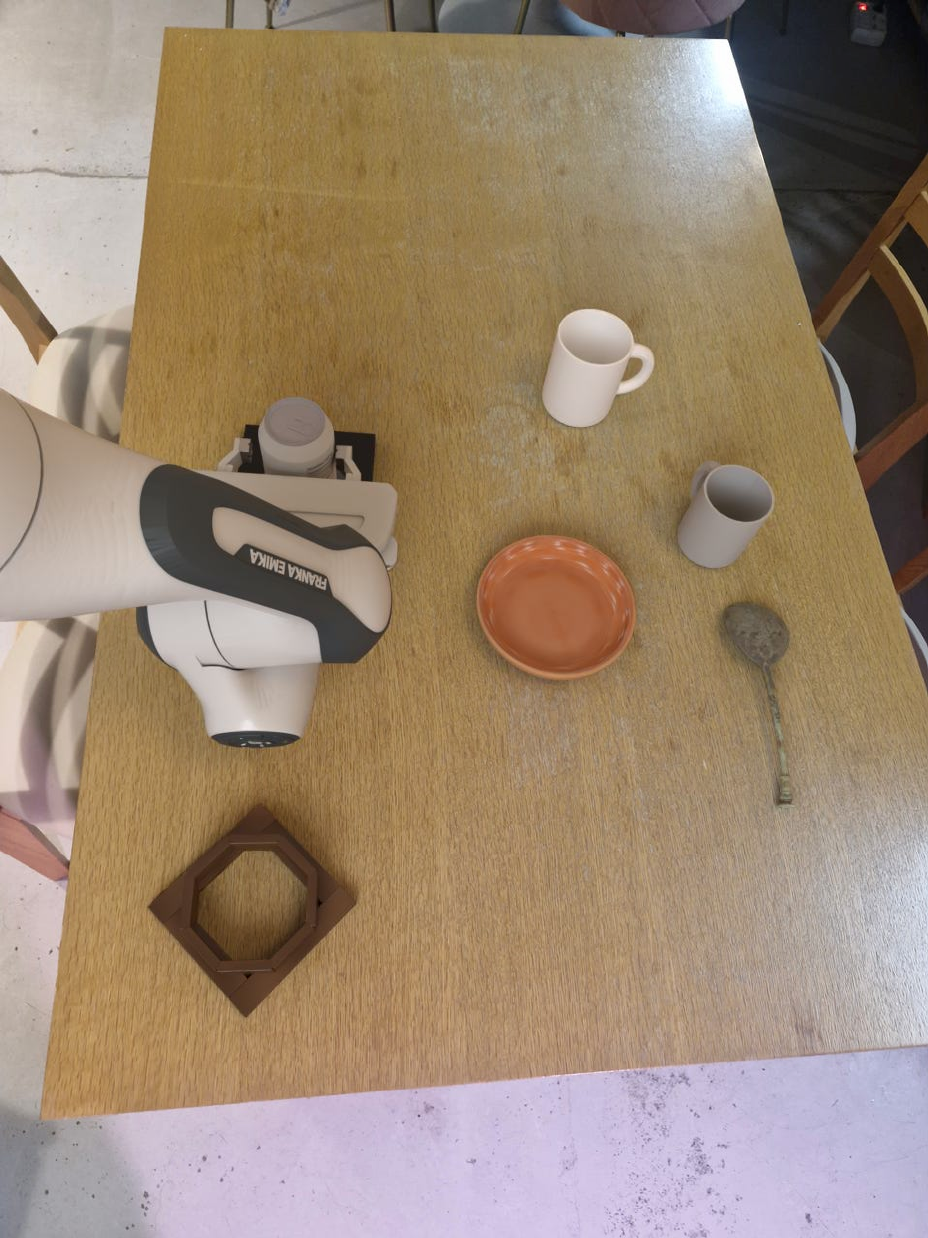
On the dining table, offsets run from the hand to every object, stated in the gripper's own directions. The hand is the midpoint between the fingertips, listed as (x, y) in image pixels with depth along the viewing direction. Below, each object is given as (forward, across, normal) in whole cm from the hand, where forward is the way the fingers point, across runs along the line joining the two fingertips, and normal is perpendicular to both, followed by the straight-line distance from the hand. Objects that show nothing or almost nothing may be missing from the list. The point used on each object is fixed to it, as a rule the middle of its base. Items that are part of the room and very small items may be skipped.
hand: (294, 445), depth 81 cm
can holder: (-41, 0, +10) cm, 42 cm away
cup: (0, -43, +10) cm, 44 cm away
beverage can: (0, 0, +8) cm, 8 cm away
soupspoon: (-20, -47, +10) cm, 52 cm away
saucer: (-12, -26, +10) cm, 30 cm away
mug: (+17, -32, +10) cm, 37 cm away
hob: (0, 0, +10) cm, 10 cm away
